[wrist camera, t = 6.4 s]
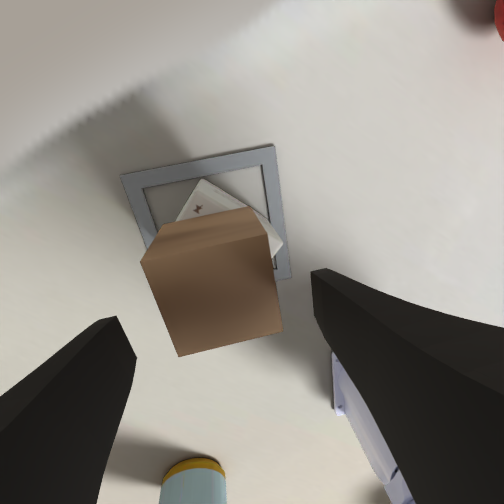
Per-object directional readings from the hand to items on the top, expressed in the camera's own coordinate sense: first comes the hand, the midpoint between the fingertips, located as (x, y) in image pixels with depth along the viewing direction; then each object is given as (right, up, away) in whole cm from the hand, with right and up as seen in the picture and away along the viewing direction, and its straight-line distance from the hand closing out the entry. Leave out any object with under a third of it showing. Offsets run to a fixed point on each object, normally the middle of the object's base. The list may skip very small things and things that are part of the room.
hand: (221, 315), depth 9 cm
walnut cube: (-1, +2, +4) cm, 5 cm away
